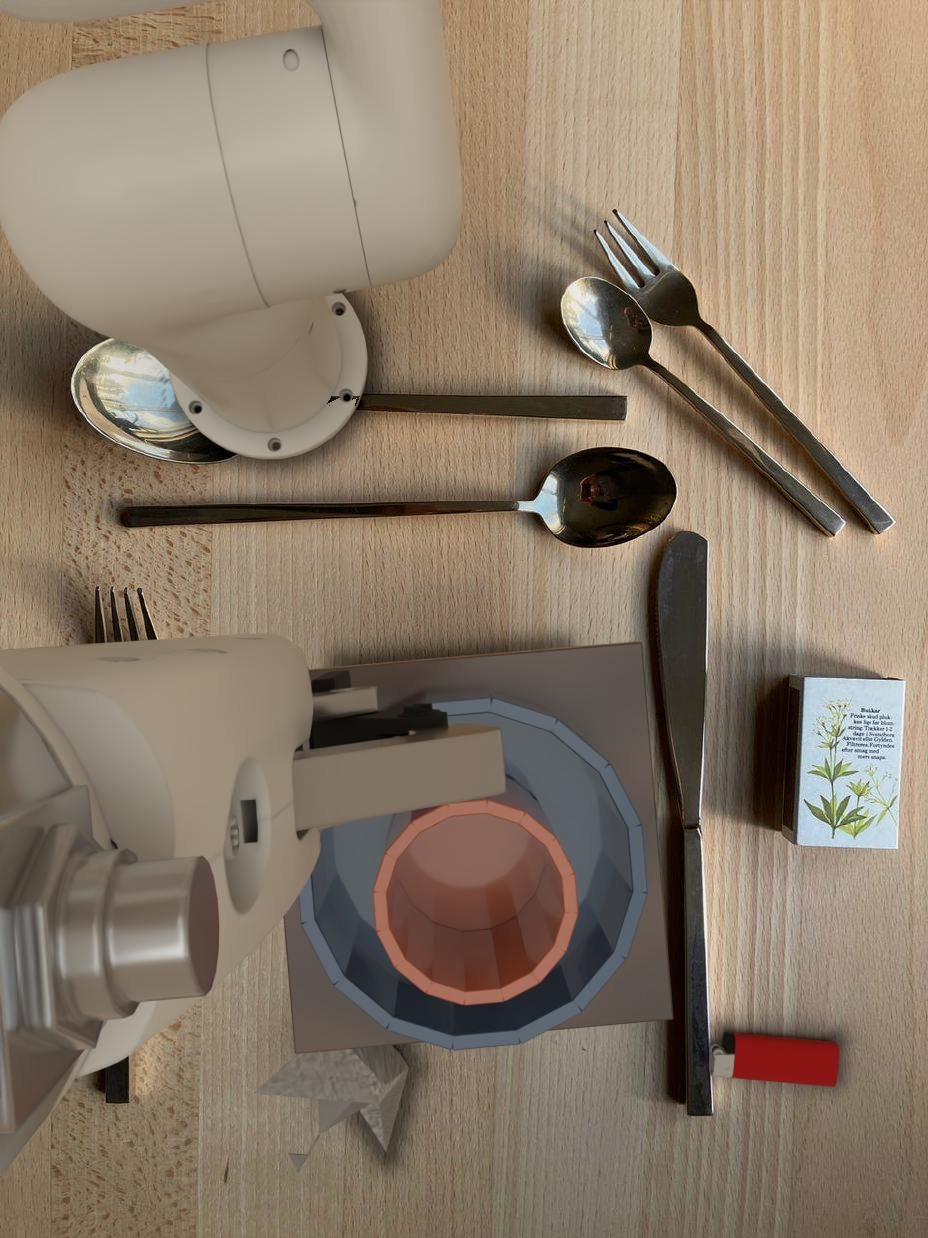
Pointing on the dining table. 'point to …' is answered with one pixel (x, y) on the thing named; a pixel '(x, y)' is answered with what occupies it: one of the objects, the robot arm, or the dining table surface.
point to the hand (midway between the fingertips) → (159, 746)
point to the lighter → (775, 1059)
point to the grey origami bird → (345, 1087)
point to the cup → (475, 897)
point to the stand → (605, 718)
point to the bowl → (591, 838)
